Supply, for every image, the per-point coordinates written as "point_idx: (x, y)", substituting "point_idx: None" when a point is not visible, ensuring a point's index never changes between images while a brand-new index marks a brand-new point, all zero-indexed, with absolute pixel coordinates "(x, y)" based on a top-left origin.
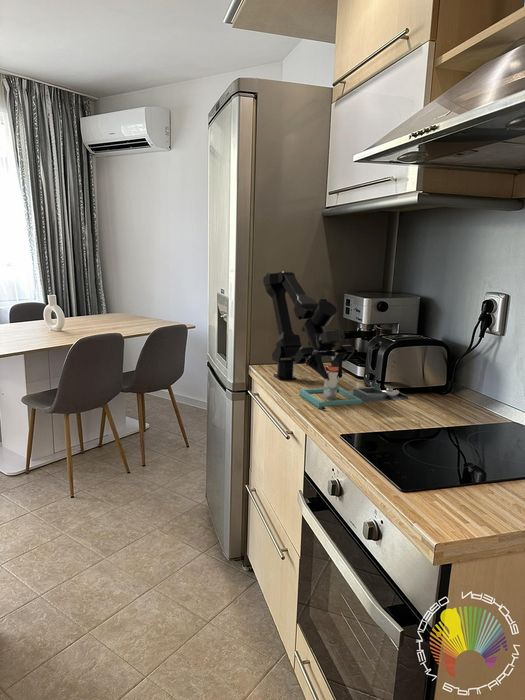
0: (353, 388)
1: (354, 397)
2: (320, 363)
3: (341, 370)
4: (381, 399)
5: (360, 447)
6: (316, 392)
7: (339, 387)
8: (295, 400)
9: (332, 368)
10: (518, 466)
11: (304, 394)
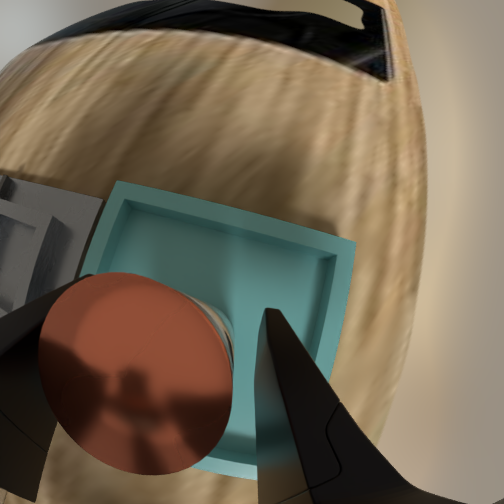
0: None
1: (113, 226)
2: (353, 452)
3: (47, 298)
4: (25, 198)
5: (375, 45)
6: None
7: None
8: (355, 409)
9: (185, 300)
10: None
11: None
